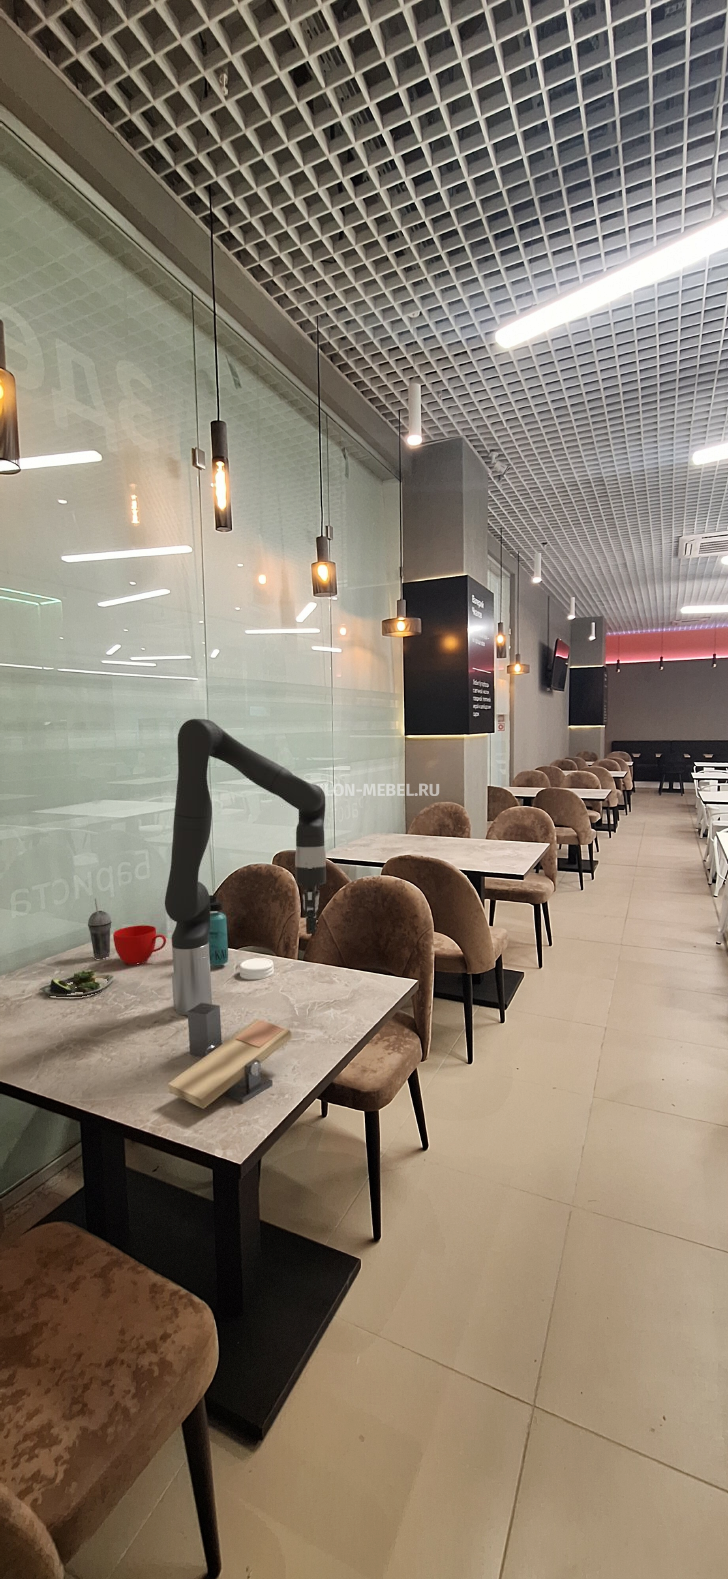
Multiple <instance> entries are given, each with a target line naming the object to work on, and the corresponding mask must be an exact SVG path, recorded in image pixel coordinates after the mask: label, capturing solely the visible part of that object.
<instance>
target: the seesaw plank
mask: <svg viewBox="0 0 728 1579" xmlns="http://www.w3.org/2000/svg"><path fill="white" fill-rule="evenodd" d="M290 1040H292V1032H291V1029H289V1028H285V1027H283V1026H279V1025H276V1024H274V1023H271V1022H268V1021H264V1020H261V1019H258V1018H256V1019H255V1020H253V1021H251V1023H249V1024H248V1025H247V1026H245V1027H244V1028H242V1029H241V1030H240V1031H239V1032H237V1033H236V1034H234V1035H233V1036H232V1037H230V1038H229V1039H228V1040H226V1041H225V1042H223V1043H222V1045H221V1046H219V1047H218V1048H216V1049H215V1050H214V1051H212V1052H211V1053H209V1054H208V1055H207V1056H205V1057H204V1058H203V1057H202V1058H201V1059H200V1060H199V1061H197V1062H196V1063H193V1065H192V1066H190V1067H188V1069H186V1070H185V1071H183V1072H182V1073H180V1074H179V1075H178V1076H176V1077H175V1078H174V1079H172V1080H171V1081H170V1082H168V1083H167V1086H168V1090H169V1093H170V1094H172V1095H174V1096H176V1097H178V1098H181V1099H182V1100H184V1101H187V1102H188V1103H190V1104H191V1105H194V1106H197V1107H198V1108H201V1109H204V1110H205V1108H207V1106H210V1104H211V1103H213V1102H214V1101H215V1100H217V1099H218V1098H219V1097H220V1096H221V1095H223V1093H224V1092H225V1091H226V1090H228V1089H229V1088H230V1087H231V1086H233V1085H234V1084H235V1083H236V1082H238V1081H239V1080H240V1079H241V1078H243V1077H244V1076H245V1065H246V1064H248V1063H250V1062H252V1061H254V1060H255V1059H257V1060H260V1064H261V1063H263V1062H264V1061H265V1060H266V1059H268V1058H269V1057H270V1056H272V1054H274V1053H275V1052H276V1051H278V1050H279V1049H280V1048H281V1047H282V1046H284V1045H285V1044H287V1043H288V1042H289V1041H290Z"/></svg>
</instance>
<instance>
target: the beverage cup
mask: <svg viewBox="0 0 728 1579" xmlns="http://www.w3.org/2000/svg"><path fill="white" fill-rule="evenodd" d="M94 903H95V905H94V906H95V910H96V911H94V912H93V913H92V914H91V915H90V916H89V918H88V920H87V926H88V931H89V933H90V939H91V946H92V951H93V952H92V953H93V956H94V959H95V958H96V959H103V958H106V957H109V958H110V953H111V927H112V919H111V917H110V915H109V913H107V912H106V911H105V910H99V907H98V900H97V898H94Z"/></svg>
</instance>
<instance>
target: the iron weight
mask: <svg viewBox="0 0 728 1579" xmlns="http://www.w3.org/2000/svg"><path fill="white" fill-rule="evenodd" d="M221 1023H222V1022H221V1005H218V1004H213V1003H212V1004H206V1003H200V1004H199V1005H197V1006H195V1007H194V1008H192V1009H191V1010H189V1011H188V1015H187V1024H188V1025H187V1026H188V1042H189V1043H188V1044H189V1055H190V1056H192V1057H198V1058H202V1059H203V1058H204V1057H205V1056H206V1050H207V1048H208V1047H209V1046H210V1045H213V1046H215V1045H217V1044H218V1045H222V1044H223V1043H222V1042H223V1040H222V1039H223V1038H222V1024H221Z"/></svg>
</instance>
